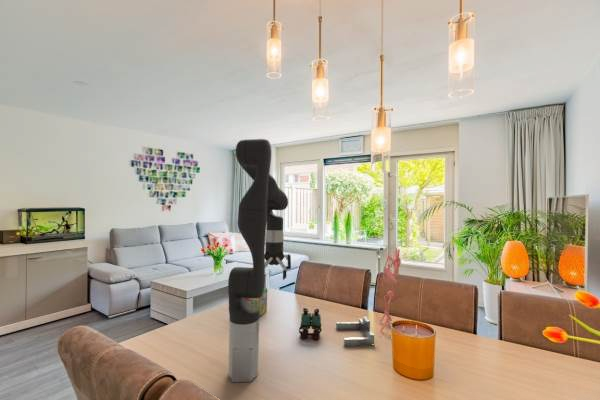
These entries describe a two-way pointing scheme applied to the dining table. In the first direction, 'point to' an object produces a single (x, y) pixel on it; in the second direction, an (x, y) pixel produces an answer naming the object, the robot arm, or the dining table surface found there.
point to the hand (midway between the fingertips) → (273, 279)
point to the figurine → (387, 272)
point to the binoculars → (310, 324)
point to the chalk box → (259, 302)
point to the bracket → (363, 326)
